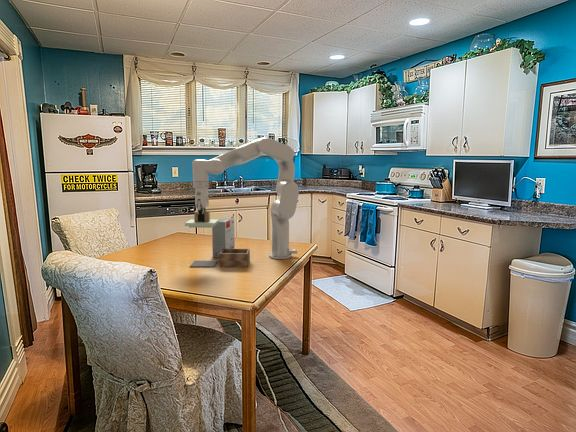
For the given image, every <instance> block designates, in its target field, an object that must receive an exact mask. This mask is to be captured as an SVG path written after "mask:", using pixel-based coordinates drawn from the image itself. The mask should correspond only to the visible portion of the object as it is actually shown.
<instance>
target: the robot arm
mask: <svg viewBox="0 0 576 432" xmlns="http://www.w3.org/2000/svg"><path fill="white" fill-rule="evenodd" d="M264 155H265V156H267V157H270V158H271V159H273V160H274V161H276V163H277V165H278V175H277V176H278V177H277V182H276V186H275V192H276V194H277V196H279V197H280V198H279V199H275V200H274V201H272V203H271V205H270V218H271V219H270V220H271V252H270V253H269V254H268V257H269V258H271V259H274V260H286V259H287V260H288V259H290V258H292V256H293V254H298V249H291V248H290V219H291V218H293V217H294V215H295V213H296V209H297V205H298V200H299V193H300V189H299V186H298V184H297V183H296V182H295V175H296V174H295V173H296V172H295V171H296V166H295V163H294V160H293V159H294V157H295V150H294V149H293V148H292V147H291V146H289V145H288V144H284V143H282V142H279V141H277V140H275V139H272V138H270V137H260V138H256V139H255V140H252V141H250V142H248V143H245V144H243V145H240V146H238V147H236V148H234V149H232V150H229V151H227V152H225V153H222V154H220V155H218V156H215V157H213V158H211V159H209V160H207V159H194V160H192V162H191V163H192V164H191V165H192V188H193V189H194V204H195V206H194V207H195V208H196V209H197V210H196V211H198V222H205V217H204V211H207V208H208V207H209V206H210V201H209V188H210V187H209V186H210V185H209V184H210V182H209V181H210V180H209V174H210V175H220V174H222V173H224V171H225V170H226V169H228V168H231V167H234V166H240V165H244V164H246V163H248V162H250V161H252V160H255V159H257V158H259V157H262V156H264Z"/></svg>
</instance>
